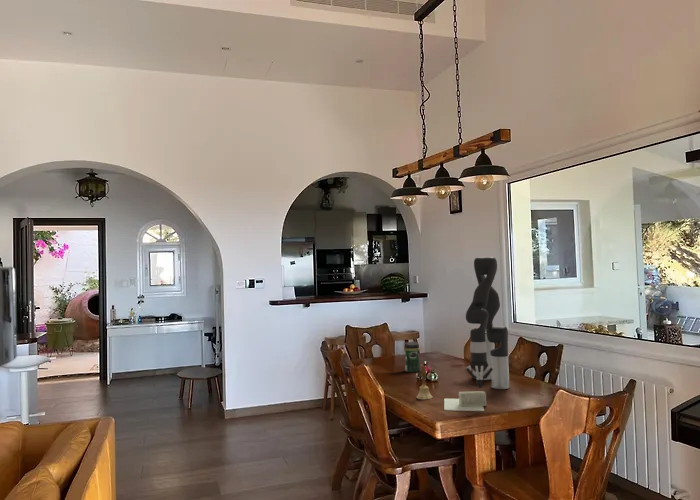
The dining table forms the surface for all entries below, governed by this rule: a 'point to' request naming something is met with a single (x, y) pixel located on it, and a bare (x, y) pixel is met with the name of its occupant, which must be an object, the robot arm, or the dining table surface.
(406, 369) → the coffee jar
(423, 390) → the hand bell
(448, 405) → the mat
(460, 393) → the skincare box
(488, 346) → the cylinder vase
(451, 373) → the dining table surface
